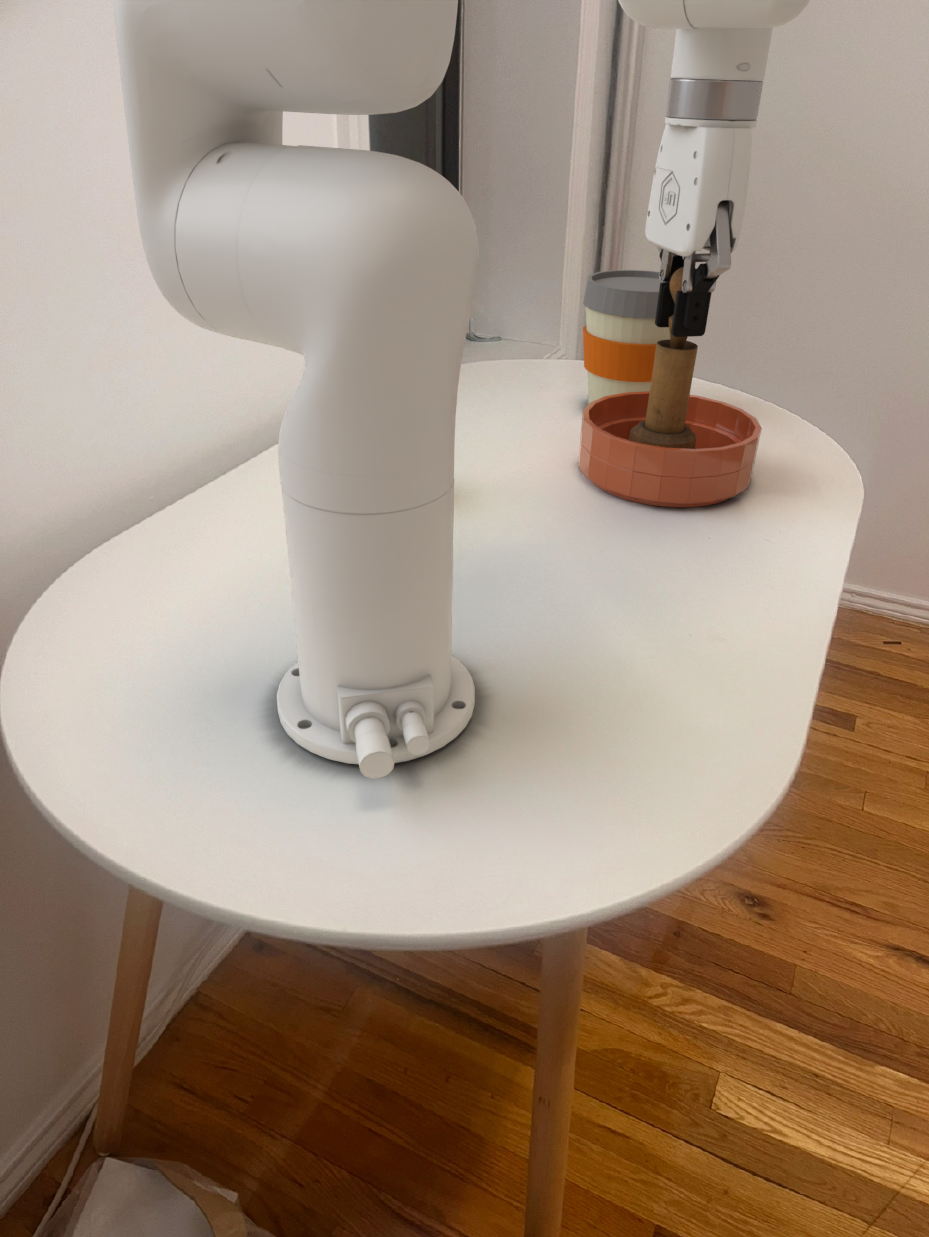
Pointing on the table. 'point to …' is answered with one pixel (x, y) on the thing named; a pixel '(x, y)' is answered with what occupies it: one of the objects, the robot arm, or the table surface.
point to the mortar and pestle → (669, 389)
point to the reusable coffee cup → (621, 331)
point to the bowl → (668, 452)
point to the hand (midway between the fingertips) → (679, 329)
